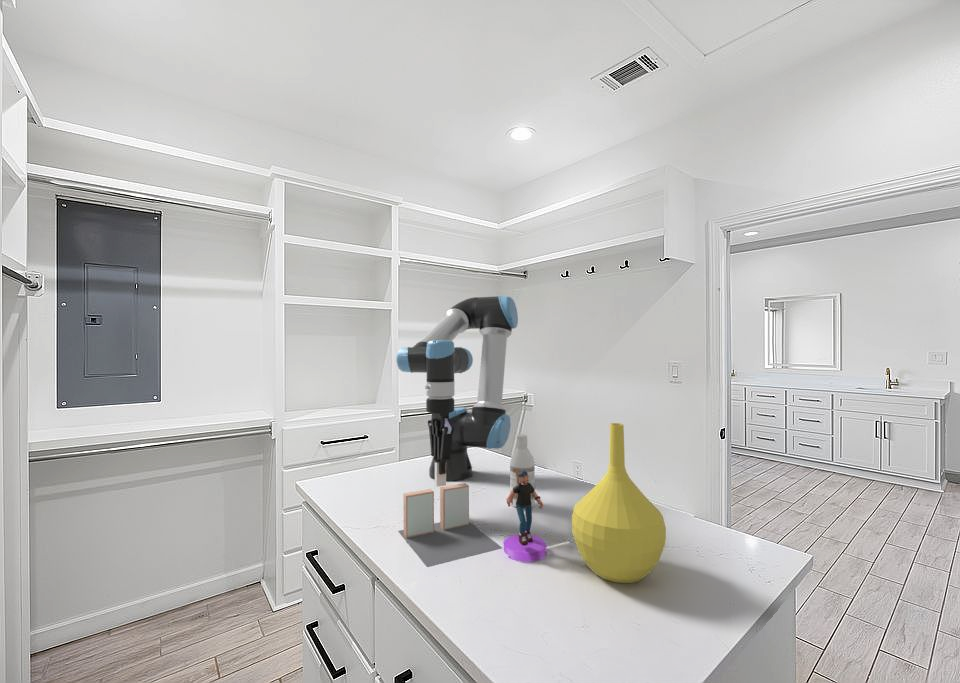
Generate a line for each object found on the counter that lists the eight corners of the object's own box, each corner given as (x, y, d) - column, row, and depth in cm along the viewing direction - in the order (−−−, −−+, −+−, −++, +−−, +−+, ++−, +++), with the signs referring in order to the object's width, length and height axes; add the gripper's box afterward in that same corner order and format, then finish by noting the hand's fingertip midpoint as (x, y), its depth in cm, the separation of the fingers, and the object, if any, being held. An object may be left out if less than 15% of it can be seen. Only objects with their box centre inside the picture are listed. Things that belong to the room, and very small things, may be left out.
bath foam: (506, 503, 130) (505, 434, 130) (527, 499, 133) (526, 432, 133) (517, 511, 124) (516, 438, 124) (539, 507, 126) (538, 436, 126)
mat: (464, 518, 118) (464, 517, 118) (502, 549, 101) (502, 547, 101) (397, 532, 110) (397, 530, 110) (427, 568, 92) (427, 566, 92)
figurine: (515, 564, 94) (514, 478, 94) (497, 546, 102) (496, 467, 103) (553, 556, 97) (553, 473, 97) (533, 539, 106) (532, 463, 106)
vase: (656, 607, 79) (655, 437, 79) (558, 578, 88) (557, 427, 88) (673, 563, 94) (672, 421, 94) (588, 543, 104) (587, 414, 104)
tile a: (465, 522, 115) (465, 483, 115) (469, 525, 113) (469, 485, 113) (440, 527, 112) (440, 487, 112) (443, 530, 110) (443, 489, 110)
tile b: (430, 529, 111) (430, 488, 111) (434, 532, 109) (434, 491, 109) (403, 535, 108) (403, 493, 108) (406, 538, 106) (406, 496, 106)
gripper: (418, 395, 125) (418, 480, 125) (436, 400, 113) (436, 494, 113) (443, 394, 128) (443, 477, 128) (463, 399, 117) (463, 489, 117)
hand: (440, 485), depth 121 cm, fingers closed
